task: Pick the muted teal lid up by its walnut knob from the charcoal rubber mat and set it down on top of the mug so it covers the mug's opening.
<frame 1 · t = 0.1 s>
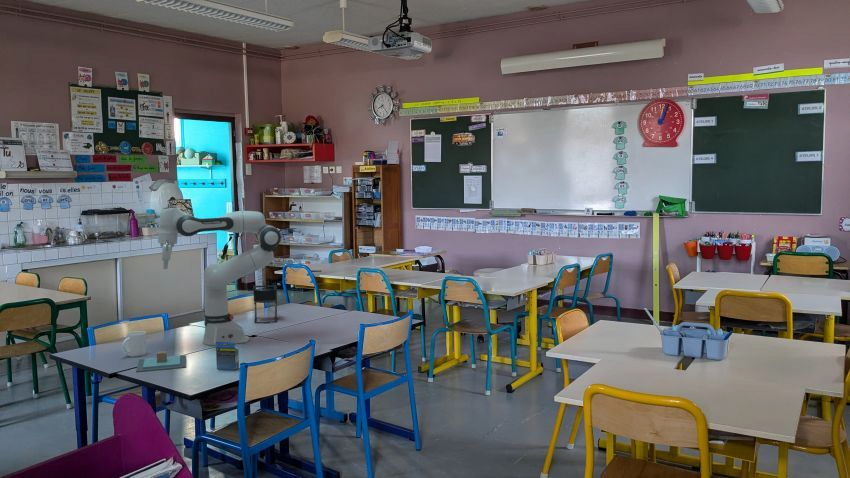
hand: (165, 267, 322), 39 cm above the table, tool pointing down, fingers open, 8 cm apart
label tape cartridge: (227, 369, 286), on the table
mat: (162, 363, 293), on the table
lid: (162, 362, 293), resting on mat
mug: (133, 356, 308), on the table
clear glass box: (265, 320, 386), on the table
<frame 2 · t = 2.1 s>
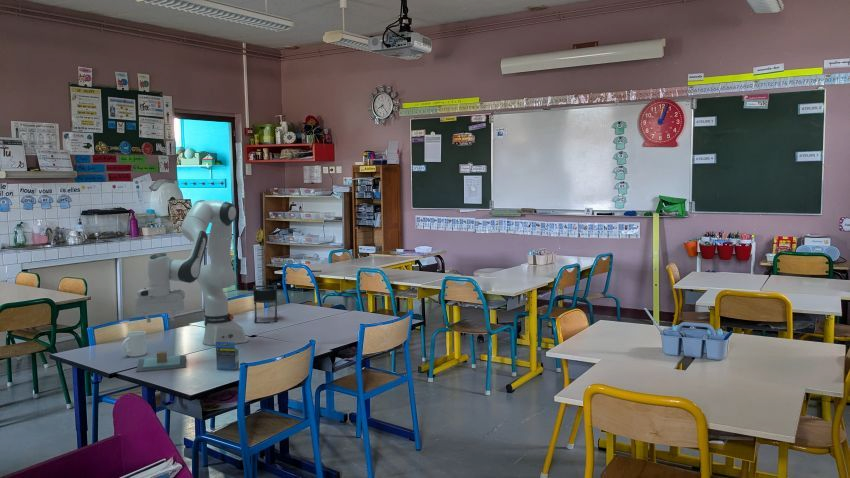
hand: (160, 321, 292), 19 cm above the table, tool pointing down, fingers open, 8 cm apart
nothing on the table moved.
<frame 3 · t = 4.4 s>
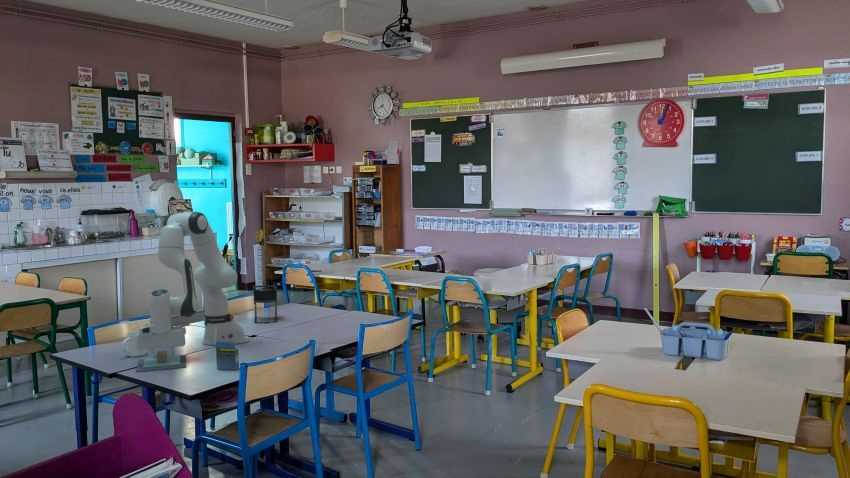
hand: (161, 357, 293), 3 cm above the table, tool pointing down, fingers closed on lid, 4 cm apart
lid: (162, 362, 293), resting on mat, touching gripper
everything else where it was.
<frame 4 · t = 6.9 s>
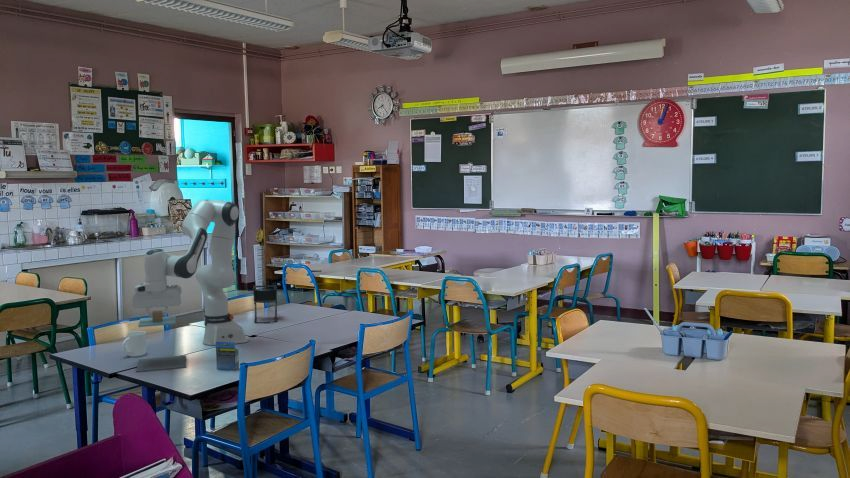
hand: (157, 316, 293), 21 cm above the table, tool pointing down, fingers closed on lid, 4 cm apart
lid: (157, 322, 293), point 18 cm above the table, touching gripper
everything else where it was.
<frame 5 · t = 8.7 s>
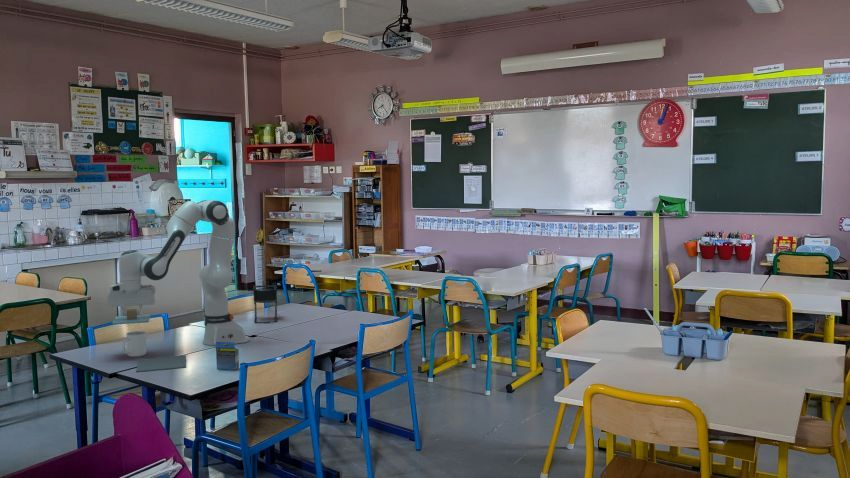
hand: (131, 315, 306), 19 cm above the table, tool pointing down, fingers closed on lid, 4 cm apart
lid: (132, 320, 306), point 17 cm above the table, touching gripper
everything else where it was.
when the fingers open (14 cm above the table, at t = 9.9 s): lid stays where it is, resting on mug.
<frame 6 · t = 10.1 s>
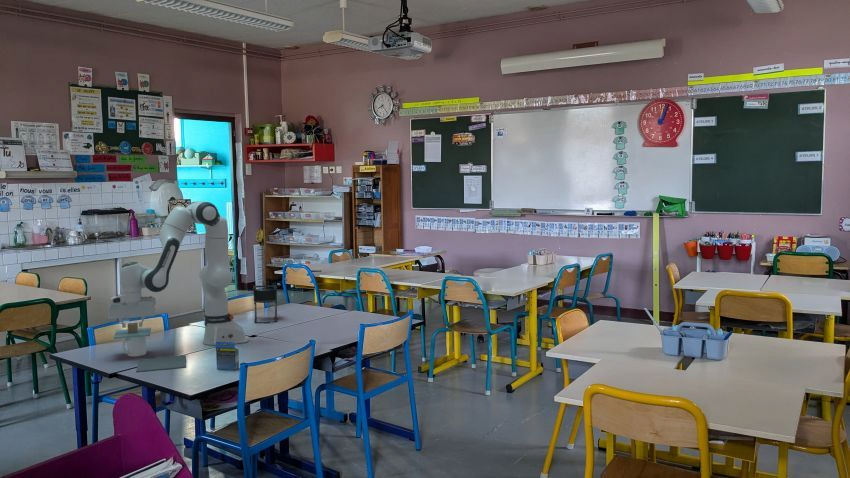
hand: (132, 326, 306), 14 cm above the table, tool pointing down, fingers open, 6 cm apart
lid: (133, 333, 307), point 10 cm above the table, touching mug
mug: (133, 356, 308), on the table, touching lid
everything else where it was.
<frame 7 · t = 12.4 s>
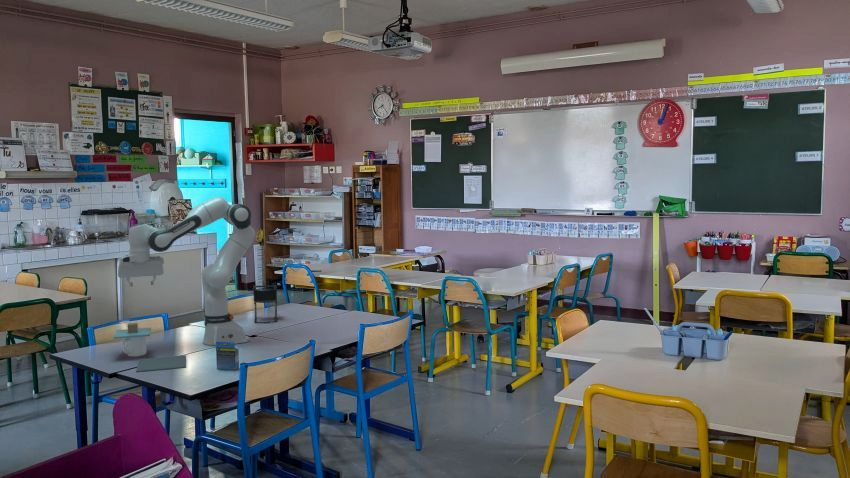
hand: (141, 285, 318), 31 cm above the table, tool pointing down, fingers open, 8 cm apart
nothing on the table moved.
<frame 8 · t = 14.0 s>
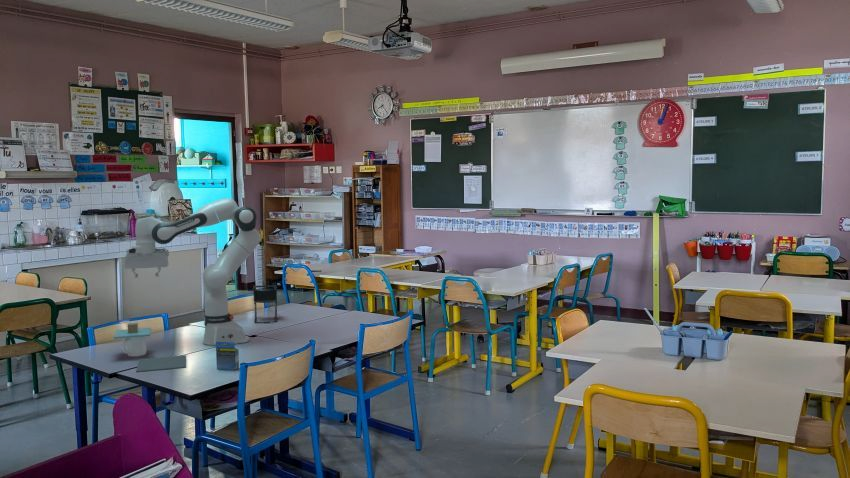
hand: (146, 276, 324), 34 cm above the table, tool pointing down, fingers open, 8 cm apart
nothing on the table moved.
at the end: lid 0.2 cm off-centre on the mug, point 10.5 cm above the mug's base; the gripper is holding nothing; mug tilted 0° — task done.
